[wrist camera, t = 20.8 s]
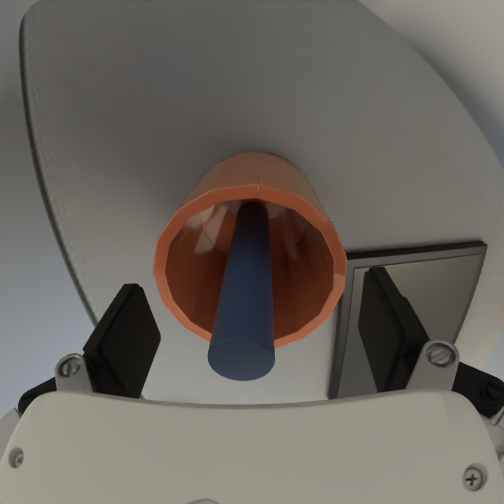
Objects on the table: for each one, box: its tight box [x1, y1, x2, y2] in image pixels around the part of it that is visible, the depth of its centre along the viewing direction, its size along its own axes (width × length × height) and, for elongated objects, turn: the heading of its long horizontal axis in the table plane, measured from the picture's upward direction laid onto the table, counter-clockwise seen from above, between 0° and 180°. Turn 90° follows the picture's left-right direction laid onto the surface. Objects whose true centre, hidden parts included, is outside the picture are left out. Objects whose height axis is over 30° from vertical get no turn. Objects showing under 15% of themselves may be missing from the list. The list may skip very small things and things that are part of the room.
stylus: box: [208, 202, 275, 381], centre depth 15 cm, size 2×2×13 cm
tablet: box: [328, 241, 488, 400], centre depth 26 cm, size 20×15×1 cm
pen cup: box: [153, 152, 347, 348], centre depth 17 cm, size 9×9×9 cm
